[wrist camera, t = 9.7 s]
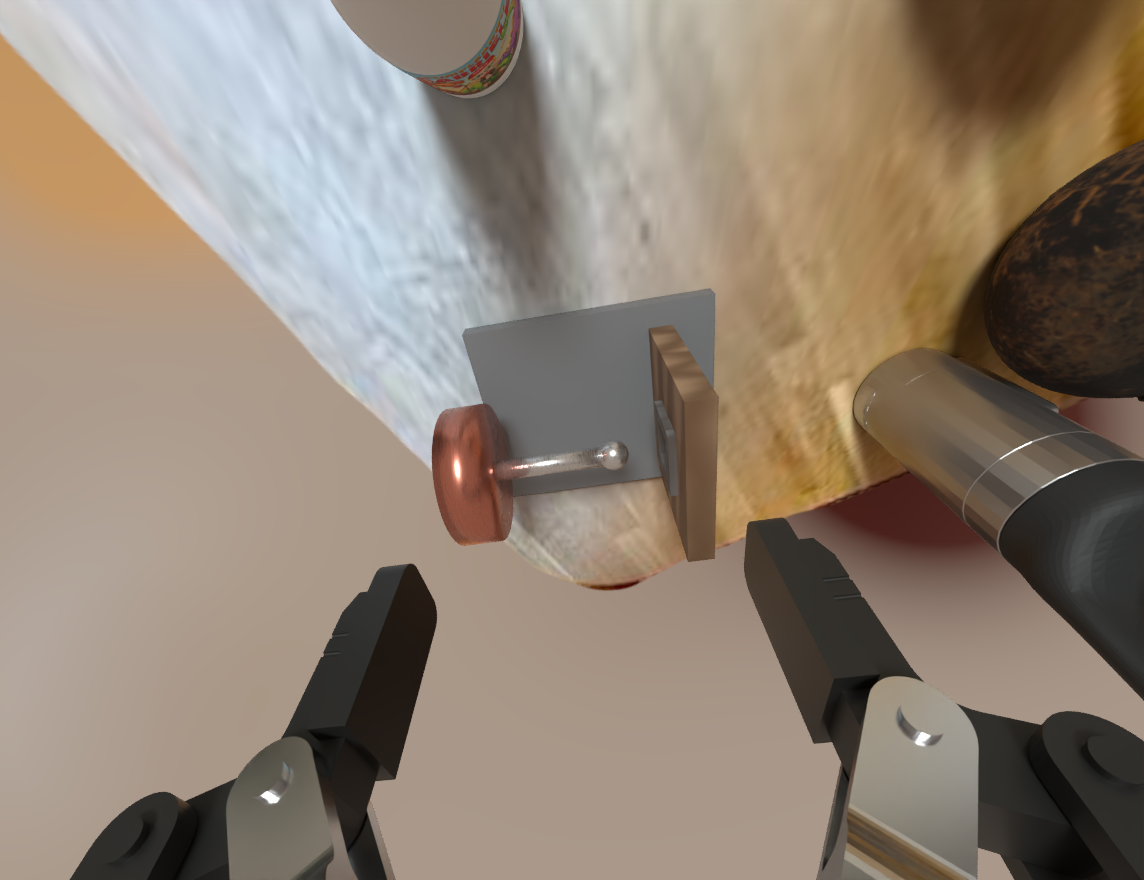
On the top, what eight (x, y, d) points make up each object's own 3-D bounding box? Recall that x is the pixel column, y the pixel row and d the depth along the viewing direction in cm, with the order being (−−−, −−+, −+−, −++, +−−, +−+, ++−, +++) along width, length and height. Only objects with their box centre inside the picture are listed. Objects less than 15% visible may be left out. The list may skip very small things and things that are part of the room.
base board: (709, 288, 37) (715, 293, 35) (708, 461, 46) (712, 469, 45) (465, 329, 38) (462, 335, 37) (513, 487, 48) (512, 496, 47)
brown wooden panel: (672, 324, 37) (718, 397, 26) (677, 458, 44) (714, 558, 33) (641, 329, 37) (674, 403, 26) (651, 462, 45) (680, 562, 34)
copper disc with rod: (614, 360, 36) (632, 431, 27) (626, 466, 42) (644, 553, 33) (453, 385, 37) (417, 462, 28) (487, 485, 43) (467, 575, 34)
